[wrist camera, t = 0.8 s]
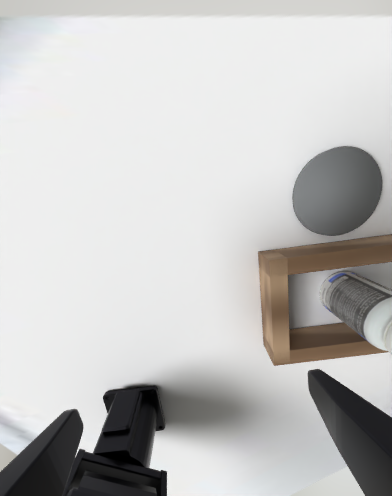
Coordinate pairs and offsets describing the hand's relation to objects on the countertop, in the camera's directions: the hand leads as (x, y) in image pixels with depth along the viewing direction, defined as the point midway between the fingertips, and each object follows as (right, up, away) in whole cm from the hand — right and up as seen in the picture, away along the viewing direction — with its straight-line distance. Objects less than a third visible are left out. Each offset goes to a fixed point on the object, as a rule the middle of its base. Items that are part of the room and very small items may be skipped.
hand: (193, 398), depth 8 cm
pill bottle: (+16, +1, +14) cm, 21 cm away
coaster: (+13, +11, +11) cm, 21 cm away
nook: (+14, +1, +14) cm, 20 cm away
